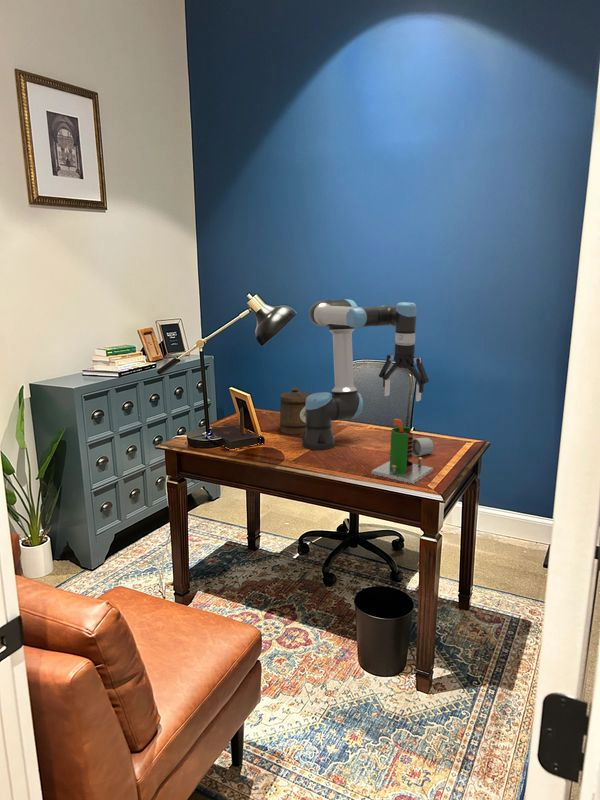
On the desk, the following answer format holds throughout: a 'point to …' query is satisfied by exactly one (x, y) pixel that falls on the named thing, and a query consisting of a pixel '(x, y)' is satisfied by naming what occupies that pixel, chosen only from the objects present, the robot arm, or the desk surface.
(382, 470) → the mounting plate
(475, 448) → the desk surface
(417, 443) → the ceramic mug
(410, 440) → the motor
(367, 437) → the desk surface
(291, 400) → the wooden container
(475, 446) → the desk surface
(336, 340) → the robot arm
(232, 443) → the diary
